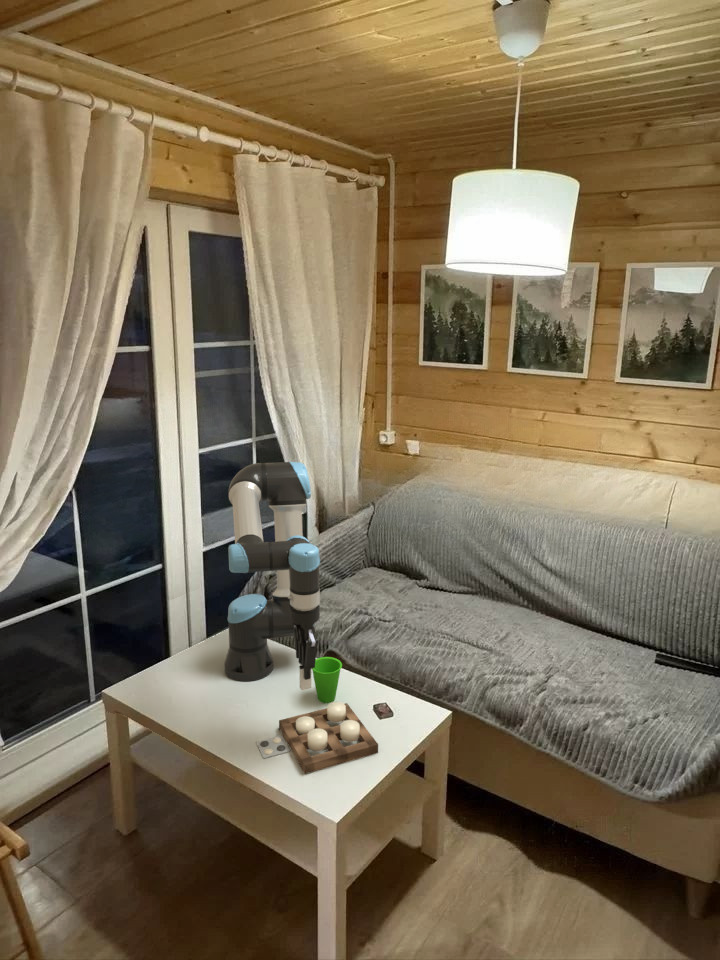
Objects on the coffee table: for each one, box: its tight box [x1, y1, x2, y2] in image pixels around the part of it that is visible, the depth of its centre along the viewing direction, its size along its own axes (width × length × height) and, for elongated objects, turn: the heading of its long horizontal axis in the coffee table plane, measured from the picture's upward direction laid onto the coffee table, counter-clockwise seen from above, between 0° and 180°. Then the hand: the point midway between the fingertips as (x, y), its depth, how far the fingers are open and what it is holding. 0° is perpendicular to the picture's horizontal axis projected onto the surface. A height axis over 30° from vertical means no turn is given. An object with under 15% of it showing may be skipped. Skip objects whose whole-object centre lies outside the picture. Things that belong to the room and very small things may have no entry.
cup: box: [311, 656, 343, 704], centre depth 197 cm, size 9×9×11 cm
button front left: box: [339, 720, 360, 743], centre depth 177 cm, size 5×5×3 cm
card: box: [255, 734, 291, 760], centre depth 177 cm, size 7×7×1 cm
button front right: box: [308, 728, 327, 752], centre depth 173 cm, size 5×5×3 cm
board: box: [278, 702, 379, 775], centre depth 180 cm, size 20×20×2 cm
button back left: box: [326, 701, 346, 723], centre depth 185 cm, size 5×5×3 cm
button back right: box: [295, 716, 315, 736], centre depth 181 cm, size 5×5×3 cm
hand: (305, 687), depth 178 cm, fingers closed
